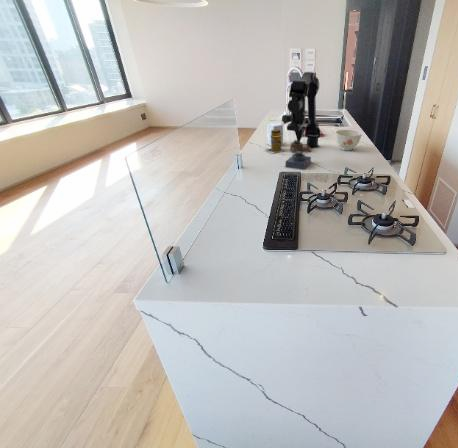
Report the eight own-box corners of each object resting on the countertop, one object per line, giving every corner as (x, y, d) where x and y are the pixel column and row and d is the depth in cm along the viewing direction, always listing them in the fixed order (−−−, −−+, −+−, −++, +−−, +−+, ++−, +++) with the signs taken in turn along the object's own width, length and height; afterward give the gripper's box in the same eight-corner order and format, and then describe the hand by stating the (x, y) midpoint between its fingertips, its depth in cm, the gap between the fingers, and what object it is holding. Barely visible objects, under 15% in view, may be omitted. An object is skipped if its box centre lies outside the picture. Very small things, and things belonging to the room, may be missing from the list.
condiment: (283, 151, 172) (283, 130, 166) (271, 153, 168) (270, 132, 162) (277, 148, 177) (277, 128, 171) (265, 150, 173) (264, 130, 167)
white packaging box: (274, 146, 180) (273, 126, 173) (267, 144, 184) (266, 124, 178) (283, 144, 184) (283, 124, 177) (276, 142, 188) (276, 122, 182)
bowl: (330, 150, 175) (331, 133, 170) (339, 144, 187) (340, 128, 182) (355, 154, 169) (357, 137, 164) (363, 147, 181) (365, 131, 176)
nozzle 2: (296, 154, 152) (296, 150, 151) (303, 155, 151) (303, 151, 150) (293, 156, 149) (293, 152, 148) (300, 157, 148) (301, 153, 147)
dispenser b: (306, 147, 179) (306, 140, 177) (309, 151, 172) (310, 144, 170) (290, 148, 176) (290, 141, 174) (293, 152, 170) (293, 145, 168)
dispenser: (293, 159, 159) (293, 151, 156) (310, 162, 156) (311, 153, 153) (285, 166, 149) (285, 157, 146) (303, 169, 146) (303, 159, 144)
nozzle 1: (299, 142, 174) (299, 139, 173) (300, 144, 171) (300, 141, 170) (293, 143, 173) (293, 139, 172) (294, 144, 170) (294, 141, 169)
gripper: (290, 105, 149) (290, 135, 157) (276, 111, 134) (277, 144, 142) (311, 106, 146) (310, 137, 154) (298, 113, 131) (298, 146, 139)
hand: (298, 141), depth 147 cm, fingers closed
